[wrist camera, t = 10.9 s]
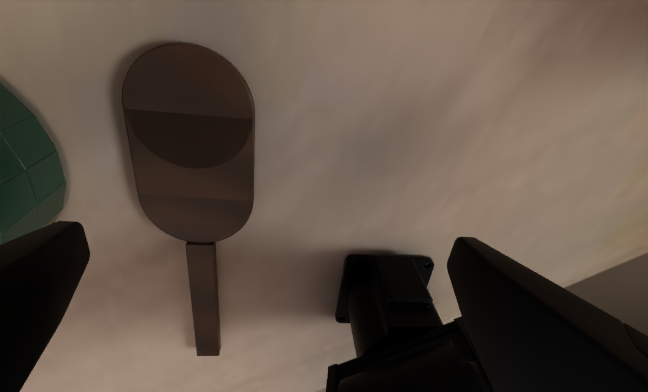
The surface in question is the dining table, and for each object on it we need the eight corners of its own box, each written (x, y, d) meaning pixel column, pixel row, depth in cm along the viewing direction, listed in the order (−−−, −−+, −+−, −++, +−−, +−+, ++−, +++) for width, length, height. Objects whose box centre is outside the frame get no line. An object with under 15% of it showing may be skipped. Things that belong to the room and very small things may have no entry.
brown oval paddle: (251, 347, 28) (250, 355, 27) (167, 347, 27) (164, 356, 27) (255, 50, 17) (254, 52, 16) (115, 34, 16) (108, 36, 16)
